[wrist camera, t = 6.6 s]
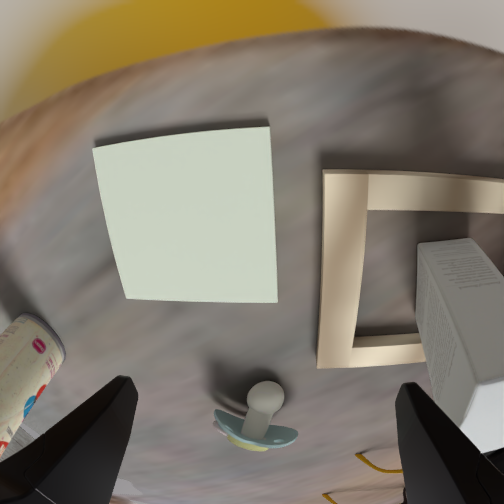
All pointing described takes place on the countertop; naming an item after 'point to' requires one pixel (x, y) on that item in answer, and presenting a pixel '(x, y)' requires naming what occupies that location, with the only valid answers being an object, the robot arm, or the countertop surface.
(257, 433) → the pacifier
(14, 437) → the supplement box
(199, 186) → the sage mat
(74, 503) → the robot arm
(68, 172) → the countertop surface
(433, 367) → the skincare box
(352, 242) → the wooden frame
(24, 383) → the aerosol can
